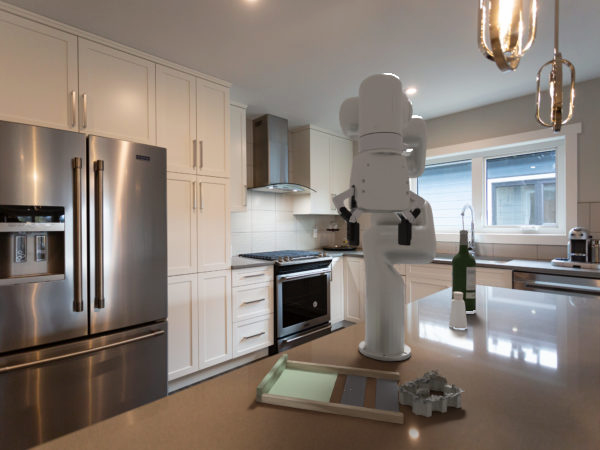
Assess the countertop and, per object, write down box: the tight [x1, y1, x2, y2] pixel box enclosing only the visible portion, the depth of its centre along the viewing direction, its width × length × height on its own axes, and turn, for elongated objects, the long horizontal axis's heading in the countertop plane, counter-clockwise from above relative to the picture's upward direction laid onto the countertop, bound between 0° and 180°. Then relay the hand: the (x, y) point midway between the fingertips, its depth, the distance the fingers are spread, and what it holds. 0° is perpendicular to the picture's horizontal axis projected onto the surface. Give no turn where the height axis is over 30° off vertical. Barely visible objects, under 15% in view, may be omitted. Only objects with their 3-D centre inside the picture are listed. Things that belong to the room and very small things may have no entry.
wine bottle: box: [451, 229, 477, 311], centre depth 120 cm, size 8×8×30 cm
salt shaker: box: [448, 292, 468, 328], centre depth 101 cm, size 5×5×11 cm
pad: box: [268, 367, 339, 402], centre depth 64 cm, size 14×12×1 cm
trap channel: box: [255, 353, 404, 425], centre depth 63 cm, size 16×25×2 cm, turn 75°
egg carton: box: [396, 369, 466, 418], centre depth 58 cm, size 11×8×4 cm
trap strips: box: [339, 374, 400, 413], centre depth 61 cm, size 14×10×1 cm
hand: (379, 245), depth 58 cm, fingers open, 9 cm apart
